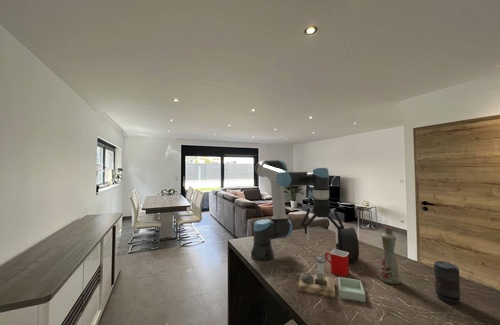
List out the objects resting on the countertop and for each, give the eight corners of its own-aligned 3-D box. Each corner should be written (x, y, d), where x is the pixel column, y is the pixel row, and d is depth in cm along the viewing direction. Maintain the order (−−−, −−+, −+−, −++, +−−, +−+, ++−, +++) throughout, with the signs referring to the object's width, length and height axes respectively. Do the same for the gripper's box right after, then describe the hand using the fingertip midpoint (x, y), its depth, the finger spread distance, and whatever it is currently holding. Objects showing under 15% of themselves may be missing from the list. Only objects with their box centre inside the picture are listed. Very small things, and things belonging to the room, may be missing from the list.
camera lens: (430, 294, 93) (428, 261, 94) (446, 293, 94) (445, 260, 95) (448, 306, 85) (447, 269, 86) (466, 305, 86) (464, 268, 87)
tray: (339, 298, 91) (339, 289, 91) (338, 284, 103) (338, 276, 103) (365, 302, 88) (365, 294, 88) (360, 287, 99) (360, 280, 99)
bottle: (401, 287, 99) (399, 228, 101) (379, 282, 104) (377, 226, 105) (399, 279, 107) (397, 224, 108) (379, 275, 112) (377, 222, 113)
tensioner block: (298, 290, 97) (298, 281, 98) (301, 277, 109) (301, 269, 109) (335, 297, 92) (334, 287, 92) (333, 283, 103) (333, 274, 103)
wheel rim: (359, 267, 121) (358, 232, 121) (342, 265, 122) (342, 231, 123) (350, 253, 140) (349, 224, 141) (335, 252, 142) (335, 223, 143)
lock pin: (315, 289, 98) (315, 259, 99) (316, 284, 103) (315, 255, 103) (326, 291, 97) (325, 260, 97) (326, 285, 101) (325, 256, 102)
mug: (350, 272, 115) (349, 252, 115) (345, 277, 109) (344, 257, 109) (328, 265, 123) (328, 247, 123) (323, 270, 117) (322, 251, 117)
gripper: (295, 198, 103) (296, 241, 102) (349, 200, 96) (351, 246, 95) (296, 196, 111) (297, 237, 110) (347, 198, 104) (348, 241, 103)
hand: (322, 241), depth 102 cm, fingers open, 13 cm apart
